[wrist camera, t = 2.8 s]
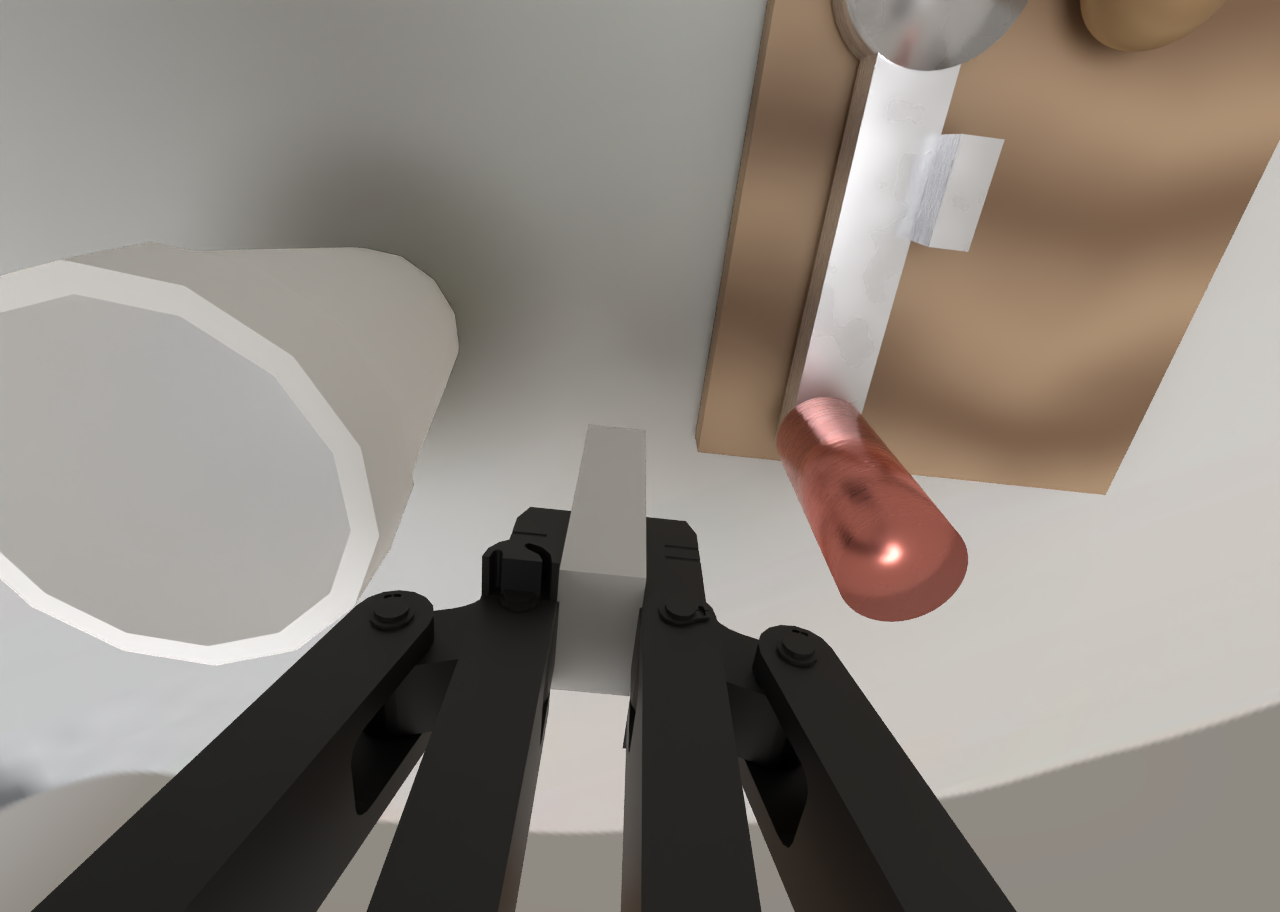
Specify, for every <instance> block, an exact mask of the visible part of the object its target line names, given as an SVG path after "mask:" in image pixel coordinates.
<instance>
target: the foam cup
mask: <svg viewBox="0 0 1280 912" xmlns="http://www.w3.org/2000/svg"><path fill="white" fill-rule="evenodd" d="M458 351H459V343H458V335H457V328H456V320H455V313H454V312H453V310H452V309H451V307H450V305H449V304H448V302H447V300H446V299H445V297H444V295H443V294H442V292H441V291H440V289H439V287H438V286H437V284H436V282H435V281H434V280H433V279H432V278H430V277H429V276H428V275H426V274H425V273H424V272H422V271H421V270H419V269H418V268H417V267H415V266H414V265H413V264H411V263H410V262H408V261H407V260H406V259H404V258H403V257H402V256H398V255H394V254H389V253H385V252H380V251H376V250H371V249H367V248H356V247H342V248H295V249H248V250H202V251H191V250H186V249H182V248H177V247H173V246H168V245H164V244H159V243H154V242H147V243H142V244H137V245H132V246H127V247H122V248H117V249H112V250H107V251H102V252H96V253H91V254H86V255H81V256H76V257H71V258H66V259H61V260H57V261H53V262H49V263H46V264H42V265H38V266H34V267H30V268H27V269H23V270H19V271H15V272H11V273H7V274H4V275H0V579H1V580H2V581H3V582H4V583H6V584H7V585H8V586H9V587H10V588H11V589H12V590H13V591H15V592H16V593H17V594H18V595H19V596H20V597H21V598H22V599H23V600H25V601H26V602H27V603H28V604H29V605H30V606H31V607H33V608H35V609H37V610H39V611H42V612H44V613H46V614H48V615H50V616H52V617H54V618H56V619H58V620H60V621H62V622H64V623H67V624H69V625H71V626H73V627H75V628H77V629H79V630H81V631H83V632H85V633H87V634H89V635H92V636H94V637H96V638H98V639H100V640H102V641H104V642H106V643H108V644H110V645H112V646H114V647H117V648H119V649H121V650H123V651H128V652H134V653H140V654H146V655H153V656H159V657H165V658H171V659H177V660H184V661H190V662H196V663H202V664H208V665H214V666H216V665H221V664H227V663H232V662H237V661H243V660H248V659H253V658H259V657H264V656H269V655H275V654H280V653H286V652H291V651H296V650H297V649H299V648H300V647H301V646H303V645H304V644H305V643H306V642H308V641H309V640H310V639H312V638H313V637H314V636H316V635H317V634H318V633H320V632H321V631H322V630H324V629H325V628H326V627H328V626H329V625H330V624H332V623H333V622H334V621H336V620H337V619H338V618H339V617H341V616H342V615H343V614H345V613H346V612H347V611H349V610H350V609H351V608H353V607H354V606H355V604H356V603H357V601H358V600H359V598H360V596H361V595H362V593H363V591H364V590H365V588H366V587H367V585H368V583H369V582H370V580H371V579H372V577H373V575H374V574H375V572H376V571H377V569H378V567H379V566H380V564H381V563H382V561H383V559H384V558H385V556H386V555H387V553H388V551H389V550H390V548H391V545H392V542H393V540H394V537H395V534H396V531H397V529H398V526H399V523H400V521H401V518H402V515H403V513H404V510H405V507H406V504H407V502H408V499H409V496H410V494H411V491H412V488H413V485H414V483H413V477H412V471H413V469H414V466H415V464H416V461H417V458H418V456H419V453H420V451H421V448H422V446H423V443H424V441H425V438H426V436H427V433H428V431H429V428H430V426H431V423H432V420H433V418H434V415H435V413H436V410H437V408H438V405H439V403H440V400H441V398H442V395H443V393H444V390H445V388H446V385H447V382H448V379H449V377H450V374H451V371H452V368H453V366H454V363H455V360H456V358H457V355H458Z"/></svg>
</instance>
